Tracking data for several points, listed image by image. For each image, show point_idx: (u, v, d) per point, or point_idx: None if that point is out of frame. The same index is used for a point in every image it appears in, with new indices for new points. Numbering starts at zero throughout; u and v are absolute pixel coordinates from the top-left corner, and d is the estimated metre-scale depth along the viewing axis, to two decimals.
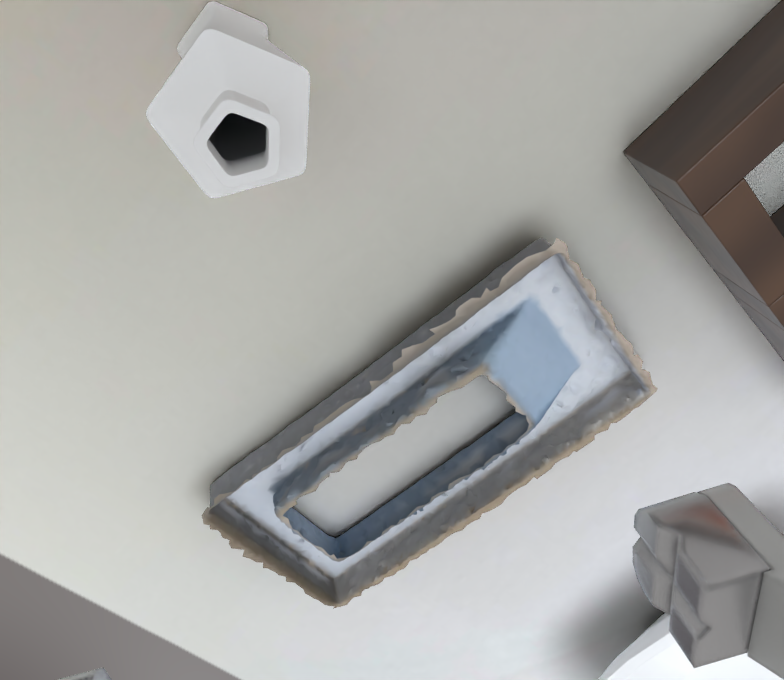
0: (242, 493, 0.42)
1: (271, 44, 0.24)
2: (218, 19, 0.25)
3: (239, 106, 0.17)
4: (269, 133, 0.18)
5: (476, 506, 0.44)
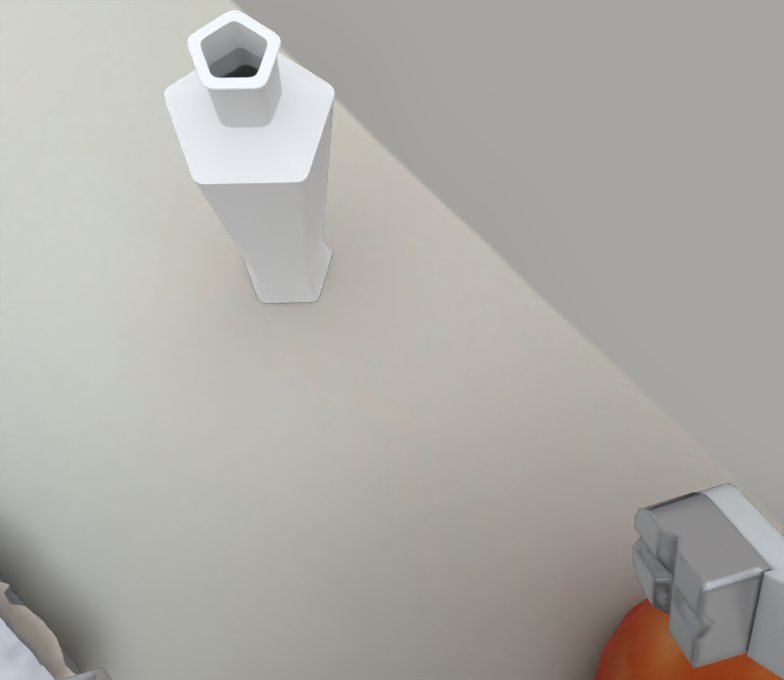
0: None
1: (311, 233, 0.24)
2: None
3: (274, 50, 0.17)
4: (248, 79, 0.17)
5: None
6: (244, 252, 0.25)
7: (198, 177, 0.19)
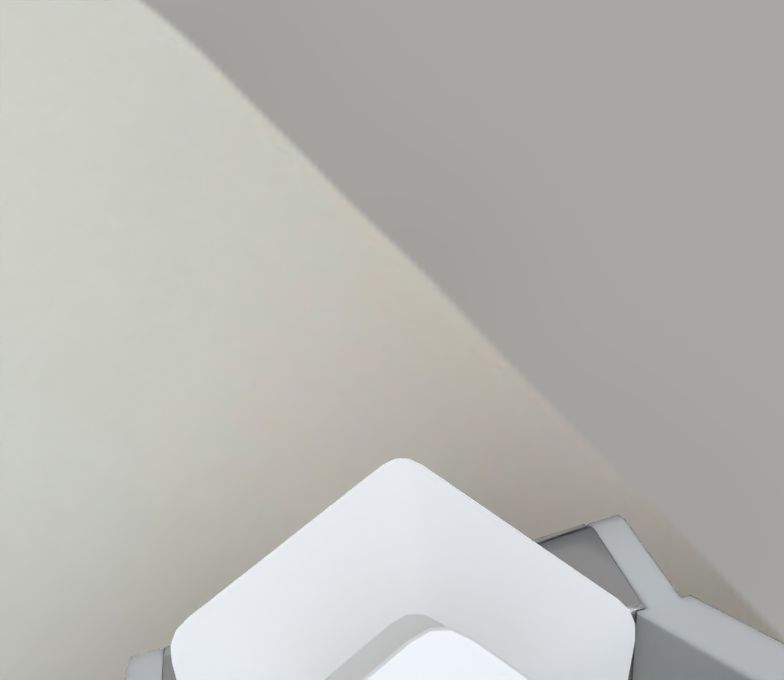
0: None
1: None
2: None
3: None
4: None
5: None
6: None
7: None
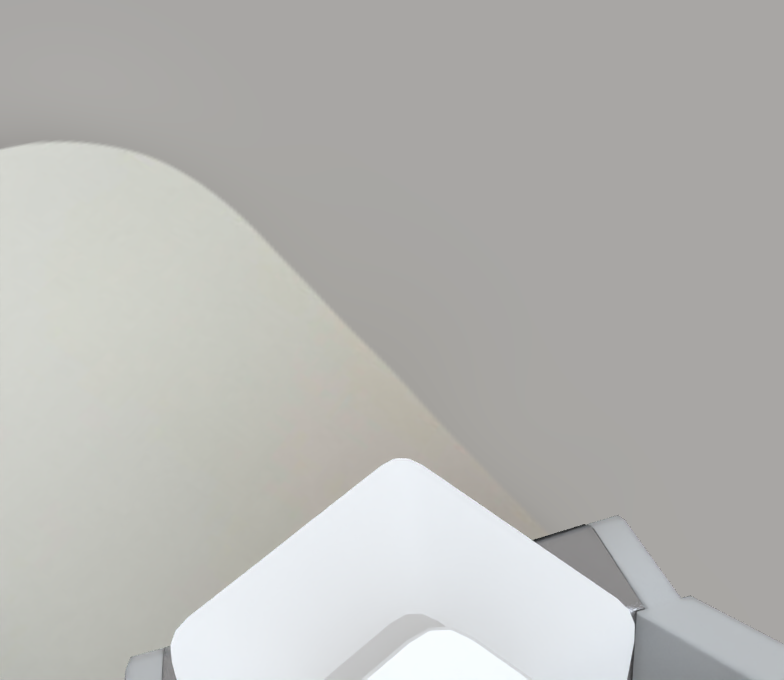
0: None
1: None
2: None
3: None
4: None
5: None
6: None
7: None
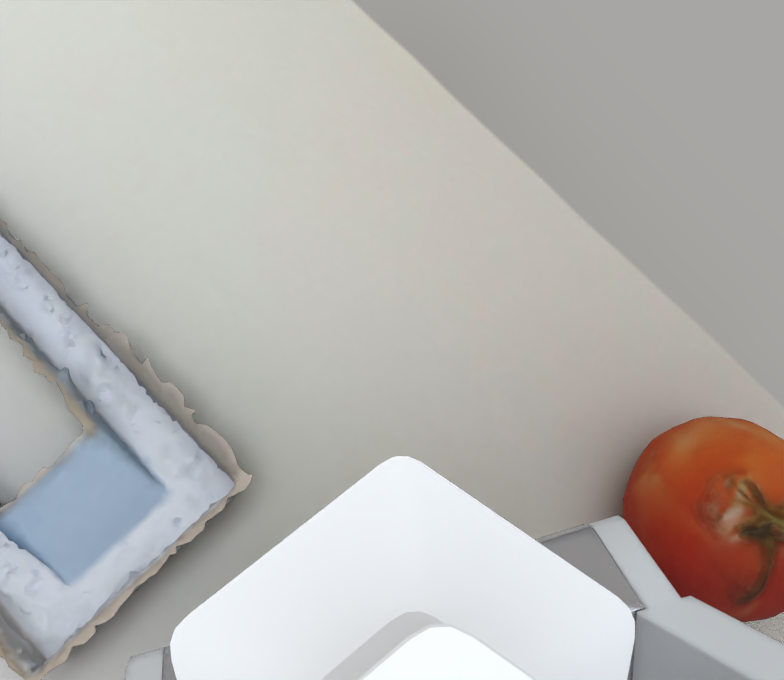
0: None
1: None
2: None
3: None
4: None
5: None
6: None
7: None
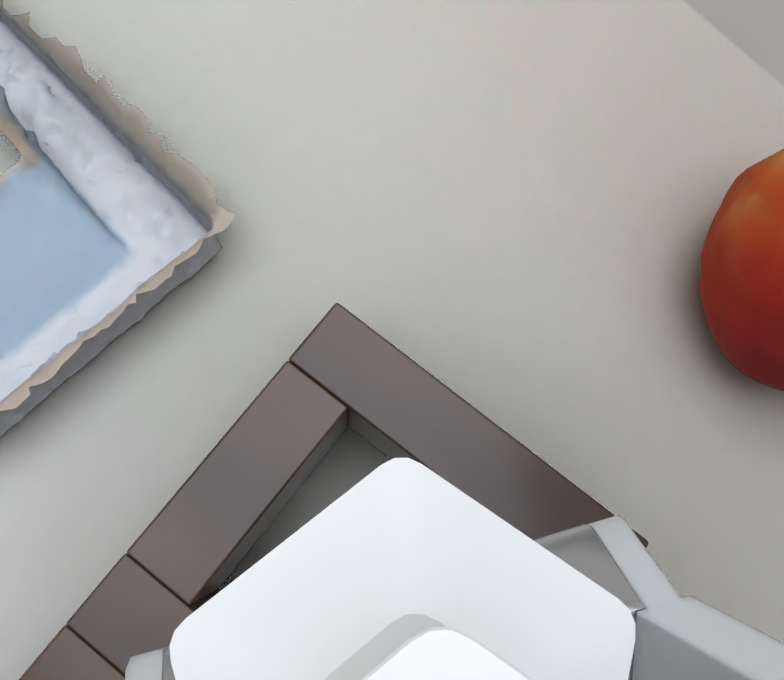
0: None
1: None
2: None
3: None
4: None
5: None
6: None
7: None
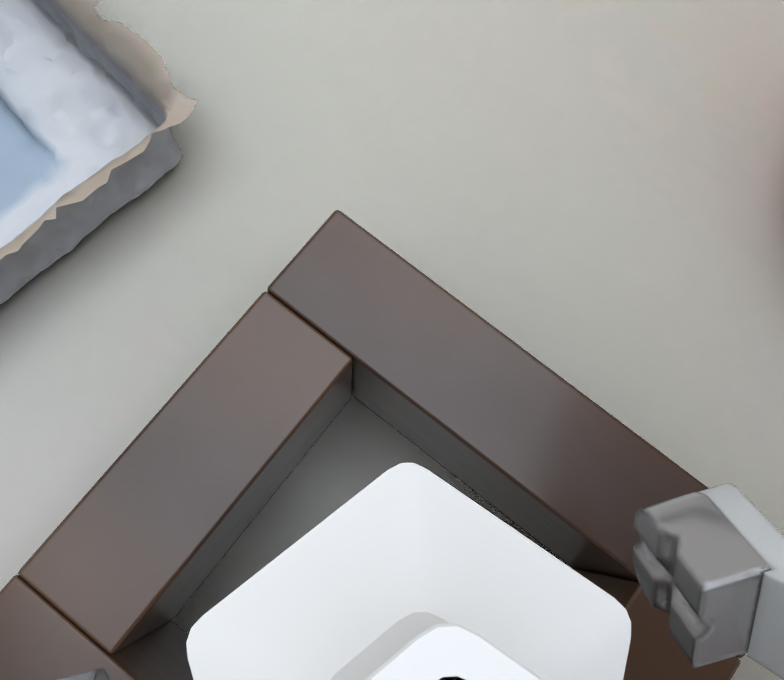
0: None
1: None
2: None
3: None
4: None
5: None
6: None
7: None
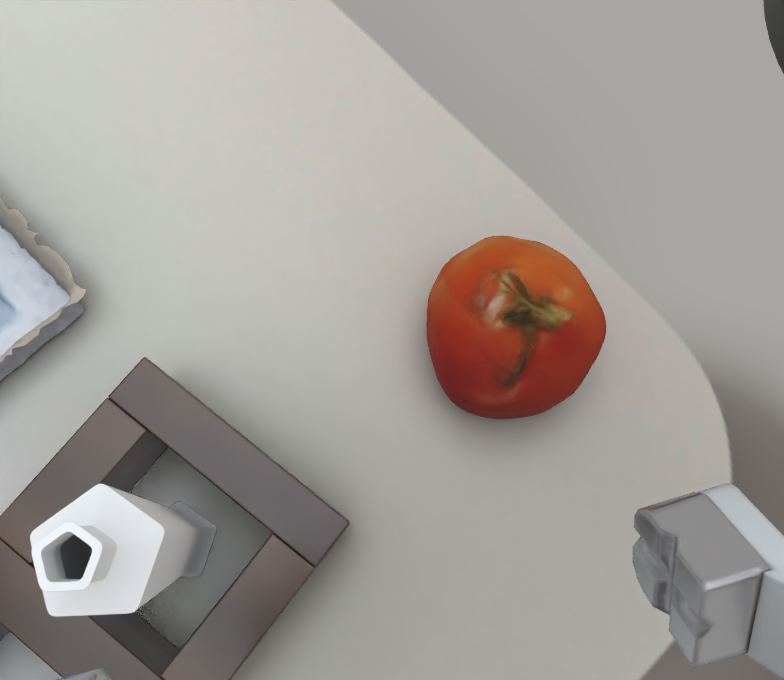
0: None
1: (171, 579, 0.30)
2: (192, 535, 0.32)
3: (97, 556, 0.22)
4: (75, 581, 0.22)
5: None
6: None
7: (52, 611, 0.24)
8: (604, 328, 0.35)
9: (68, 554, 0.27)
